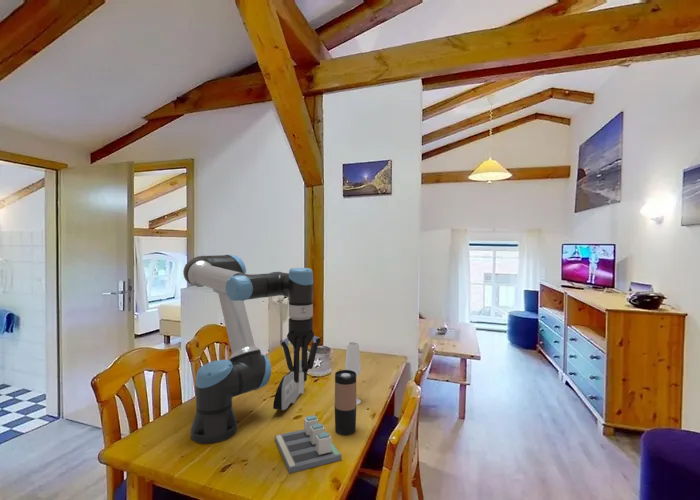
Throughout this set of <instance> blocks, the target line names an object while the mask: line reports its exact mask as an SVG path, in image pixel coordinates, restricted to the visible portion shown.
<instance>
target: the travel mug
mask: <svg viewBox="0 0 700 500" xmlns="http://www.w3.org/2000/svg"><path fill="white" fill-rule="evenodd" d="M356 398H357V377H356V373H355V372H354V371H351V370H345V369H344V370H343V369H341V370H338V371H336V372H335V374H334V431H335V433H336V434H338V435H340V436H350V435H353V434H354V433H356V427H357V426H356V425H357V423H356V422H357V405H356Z"/></svg>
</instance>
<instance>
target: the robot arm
mask: <svg viewBox="0 0 700 500" xmlns="http://www.w3.org/2000/svg"><path fill="white" fill-rule="evenodd" d="M182 274H183V275H182V276H183V278H184V279H185V281H186V282H187V283H188V284H189V285H191V286H194V287H197V288H201V287H202V288H203V287H206V288H209V289H213V291H212V292H214V293H216V294H218V299H219V303H220V308H221V311H222V314H223V315H222V316H223V320H224V324H225V328H226V332H227V333H226V334H227V336H228V342H229V346H230V350H231V355H230V357H229V358H228V359H219V360H212V361H210V362H207V363H205V364H203V365H202V366H200V368H199V369H197V371H196V374H195V376H196V377H195V400H196V401H195V404H196V405H195V415H194V418H193V421H192V423H191V427H190V439H191V440H192V441H194V442H196V443H199V444H215V443H219V442H222V441H225V440H227V439H230V438H231V437H232V436H234V435H235V434H236V432H237V430H238V420H237V418H236V414H235V411H234V409H233V398H234V397H237V396H240V395H244V394H246V393H249V392H252V391H257V390H258V389H261V388H263V387H265V386H266V385H267V384H268V383H269V382H270V378H271V376H272V364H271V361H270V359H269V357H268V356H267V355H266V354H264V353H263V354H262V352H261V349H260V348H259V347H257V346H256V344H255V340H254V337H253V332H252V330H251V325H250V321H249V316H248V312H247V309H246V305H245V301H246V300H253V299H261V298H272V297H278V296H280V297H281V296H283V297H288V317H289V318H288V333H287V335H286V337H285V338H284V339H281V340H280V341H279V344H280V346H282V348H283V352H284V356H285V361H286V365H287V369H288V370H289V372H290V371H291V372H292V371H293V372H294V381H295V382H296V383H297V391H298V393H299V394H300V395H301V394H304V393H305V392H304V391H305V390H304V389H305V384H304V381H305V382H306V381H307V380H308V377H307V376H308V374H307V373H308V372H309V370H312V369H313V367H314V364H315V359H316V355H317V351H318V348H319V347H318V346H319V345H320V343H321V342H322V339H321V338H320V337H319V336H316V335H315V332H314V331H313V330H314V327H313V325H314V321H313V316H314V312H313V311H314V272H313V269H312V268H308V267H293V268H290V269H289V271H288V272H282V271H271V272H269V273H268V272H267V273H257V274H256V273H255V274H253V273H252V274H248V273H247V267H246V265H245V262H244V261H243V260H242V258H241V257H239V256H238V255H232V254H224V255H220V254H219V255H218V254H215V255H198V256H196V257H193V258H191V259H190V260H188V261H187V263H185V265H184V267H183V273H182ZM311 342H312V343H311ZM310 343H311V346H310V350H309V345H310ZM289 344H291V345H292V346H293V347H292V348H293V360H292V357H291V352H290V348H289ZM300 350H301V360H302V366H301V368H302V370H299V361H300ZM308 350H309V354H308Z"/></svg>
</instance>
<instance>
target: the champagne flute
mask: <svg viewBox="0 0 700 500" xmlns="http://www.w3.org/2000/svg"><path fill="white" fill-rule="evenodd" d="M346 345H347V346H346V352H345V355H346V356H345V365H344V370H351V371H354V372H355V373H356V378H357V377H358V376H359V375H360V374H361V372H362V364H361V354H360V344H359V342H355V341H352V342H351V341H350V342H347V344H346ZM361 402H362V401H361V399H360V398H358V397H356V406H357V405H359V404H360V403H361Z"/></svg>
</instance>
